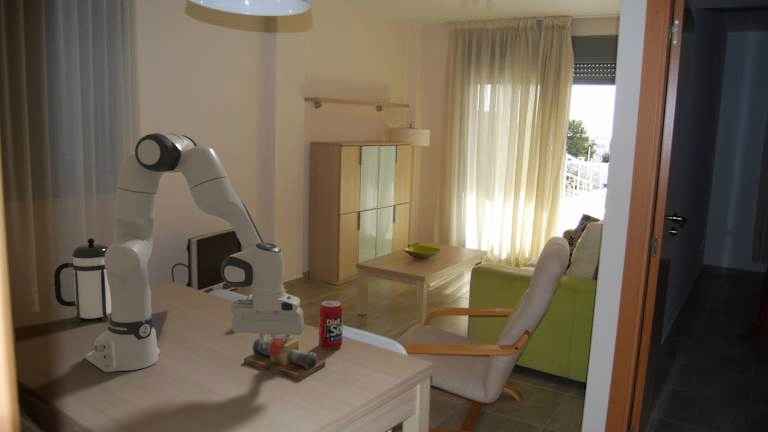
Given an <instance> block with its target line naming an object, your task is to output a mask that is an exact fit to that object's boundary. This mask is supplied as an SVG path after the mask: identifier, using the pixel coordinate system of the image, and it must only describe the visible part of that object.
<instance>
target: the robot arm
mask: <svg viewBox="0 0 768 432" xmlns="http://www.w3.org/2000/svg"><path fill="white" fill-rule="evenodd" d="M121 165H122V166H121V169H120V171H119V176H118V181H117V188H116V193H115V194H116V196H115V203H114V211H113V217H114V218H113V219H114V231H113V232H114V234H113V235H114V236H113V241H112V243H111V244H110V245H108V249H107V251H106V253H105V257H104V265H105V268H106V274H107V280H108V284H109V289H110V297H111V313H110V314H111V315H110V317H108V318H107V319H109V320H108V321H106V323H108V326H107V329H106V330H105V331H103V333H101V334H100V335H98V336H97V337H96V338H95V340H94V344H93V350H92V351H90V352H88V353H87V354H86V355H85V360H87V361H88V362H90V363H92V365H94V366H95V367H96V368H99V369H100V370H101V371H102V372H104V373H113V372H117V371H118V372H120V371H121V372H122V371H126V372H127V371H135V370H136V371H137V370H141V369H144V368H148V367H150V366H152V365H154V364H156V363H157V362H158V361H159V359H160V357H159V355H160V354H161V348H159V346H158V341H157V332H156V329H155V328H154V321H155V320H154V314H153V313H152V293H151V292H152V291H151V286H150V281H149V272H148V262H149V260H150V258H151V256H152V254H153V244H154V233H155V217H156V210H157V203H158V195H159V188H160V183H161V182H160V180H161V178H162V177H163V175H164V174H166V173H171V174H172V173H178V172H179V173H181V174H182V175H183V176H184V178H185V180H186V183H187V186H188V188H189V192H190V193H191V197H192V199H193V202H194V203H195V205H196V206H197V207H198V209H199V210H200V211H201V212H203V213H205V214H207V215H210V216H213V217H217V218H220V219H222V220H224V221H226V222H227V223H228V224H230V226H231V227H232V229H233V231H234V232H235V235H236V237H237V239H238V240H239V243H240V244H241V247H242V249H243V251H239V252H235V253H233V254H231V255H230V254H229V255H228V256H226V257H225V258H224V259H223V261H222V263H221V265H220V274H221V277H222V280H223V281H224V282H225V284H226V285H228V287H231V288H238V289H239V288H248V287H249V288H251V294H252V300H246V299H245V300H244V299H243V300H242V299H237V300H236V301H233V302H232V303H231V313H232V317H231V318H232V319H231V330H232V332H234V333H235V334H238V333H239V334H240V333H241V334H258V337H259V338H260V339H261V341H262V342H263V348H270V346H271V344H272V343H273V341H274V339H275V338H277V337H278V335H279V334H286V335H290V336H292V335H293V336H301V335H302V333H303V332H304V330H305V318H304V311H303V308H301V307H300V305H301V299H300V297H298V296H295V295H292V294H289V293H286V292H285V287H284V278H285V260H284V259H285V258H284V254H283V251H282V250H283V249H281V247H279V246H278V245H277V244H273V243H269V242H265V241H264V240H263V238H262V236H261V234H260V232H259V230H258V228H257V226H256V224H255V222H254V220H253V218H252V216H251V213H250V212H249V210H248V208H247V207H246V205H245V204H244V202H243V201H242V200H241V198H240V197H239V196H238V194H237V193H236V191H235V189H234V188H233V186H232V184H231V181H230V179H229V176H228V174H227V172H226V169H225V167H224V165H223V162H222V161H221V159H220V157H219V155H218V154H217V153H216V151H215V149H214V148H212V147H211V146H208V145H198V143H197V142H196V141H195V140H194V139H193V138H191V137H189V136H186V135H181V134H176V133H159V132H155V133H153V132H152V133H149V134H147V135H143V136H142V137H141V138H140V139H139V140H138V141H137V142H136V145H135V148H134V151H133V152H130V153H128V154H127V155H126V156H125V157H124V160H123V162H122V164H121ZM265 335H270V337H271V339H270V340H269V339H267V338H266V337H265Z"/></svg>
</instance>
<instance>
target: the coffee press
mask: <svg viewBox="0 0 768 432" xmlns="http://www.w3.org/2000/svg"><path fill="white" fill-rule="evenodd" d="M108 248H109V246H107V245H106V244H102V243H95V239H94V238H93V237H92V238H91V237H90V238H88V239H87V243H86V244H81V245H78V246H76V247H75V248H74V249H73V251H72V253H71V257H72V262H64V263H61V264H59V265H58V266H57V267H56V269H55V271H54V276H53V277H54V280H53V281H54V295H55V300H56V302H57V303H58V304H60V305H61V306H63V307H74V308H75V314H76V316H75V317H74V319H73V322H74V323H76V324H80V323H81V321H83V320H84V319H88V320H89V319H99V318H100V319H101V320H102V322H103V323H105V322H106V321H108V320H110V319H107V318H109V316H108V315H110V314H111V297H110V289H109V284H108V280H107V274H106V268H105V265H104V257H105V253H106V251H107V249H108ZM69 268H72V270H73V281H74V282H73V283H74V301H73V300H72V301H69V300H65V299H64V298H63V296H62V283H61V273H62V270H65V269H69ZM106 323H107V322H106Z"/></svg>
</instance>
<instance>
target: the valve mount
mask: <svg viewBox="0 0 768 432" xmlns="http://www.w3.org/2000/svg"><path fill="white" fill-rule="evenodd" d="M252 352H253V353H252V354H250V355H248V356H246V357H244V358H243V364H247V365H250V366H253V367H256V368H259V369H263V370H266V371H269V372H271V373H272V372H273V373H276V374H279V375H282V376H285V377H289V378H291V379H294V380H298V381H302V380H304V379H306V378H307V377H309V376H311V375H313V374H314V373H316V372H317V371H319V370H321V369H323V368H325V367H326V361H324V360H321V359H318V355H317V353H316V352H313V351H310V352H305V351H302V350H299V340H298V339H295V338H291V337H287V338H286V340H285V341H284V347H283V349H282V351H281V353H280V355H270V348H263V342H262V341H261V339H260V338H257V339H256V340H255V341H254V343H253V345H252Z"/></svg>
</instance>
